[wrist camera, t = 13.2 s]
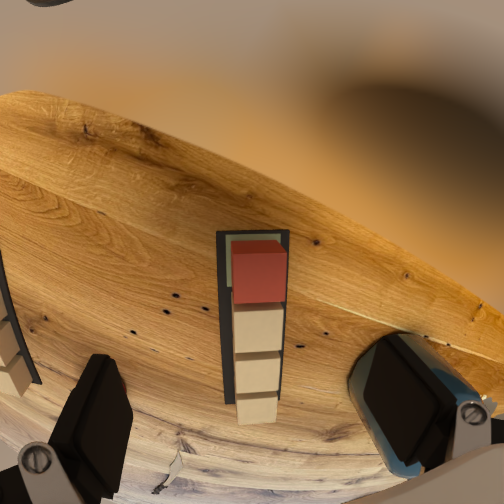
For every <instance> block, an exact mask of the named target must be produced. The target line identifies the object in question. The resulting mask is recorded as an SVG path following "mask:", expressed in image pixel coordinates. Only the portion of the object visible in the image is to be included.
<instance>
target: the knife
mask: <svg viewBox="0 0 504 504" xmlns="http://www.w3.org/2000/svg"><path fill="white" fill-rule="evenodd" d="M182 468H183V466H182V460H181V457H180V454H179V451H177V456H176V459H175V461H174V462H173V463H172V464H171V465H170V475H169V477H168V479H167V480H166V481H165V483H161V486H159V487H158V488H156V489H155V491H154V492H152V494H159V492H160V491H161V490H162V489H164V488H167V487H168V485H169V484H170V483H171V482H172V481H173V480H174V479H175V477H176V476H177V475H178V474H179V472H180V471H181V469H182Z"/></svg>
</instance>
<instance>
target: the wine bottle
mask: <svg viewBox="0 0 504 504" xmlns="http://www.w3.org/2000/svg"><path fill="white" fill-rule="evenodd" d="M397 335H399V336H400V337H401V338H402V339H403V341H404V342H405V343H406V344H407V345H408V346H409V347H410V348H411V349H412V350H413V351H414V352H415V353H416V354H417V355H418V356H419V357H420V359H421V360H422V361H423V362H424V363H425V364H426V365H427V366H428V367H429V368H430V369H431V370H432V372H433V373H434V374H435V375H436V376H437V377H438V378H439V379H440V380H441V381H442V383H443V384H444V385H445V386H446V387H447V388H448V389H449V390H450V391H451V393H452V394H453V395H454V396H455V397H456V398H457V399H458V400H457V402H456V404H457V405H458V406H459V405H460V403H462V402H463V401H466V400H476V401H479V402H481V403H483V400H482V399H481V397H480V395H479V393H478V392H477V391H476V390H475V389H474V388H473V387H472V386H471V385H470V384H469V383H468V382H467V381H466V380H465V379H464V378H463V377H462V376H461V375H460V374H459V373H458V372H457V371H456V370H455V369H454V368H453V367H452V366H451V365H450V364H449V363H448V362H447V361H446V360H445V359H444V358H443V357H442V356H441V355H440V354H439V353H438V352H437V351H436V350H435V349H434V348H432V347H431V346H430V345H429V344H428V343H427V342H426V341H425V340H424V339H423V338H422V337H421V336H420V335H415V334H397ZM376 345H377V343H376V344H375V345H374V346H373V347H372V348H371V349H370V350H369V351H368V352H367V353H366V354H365V355H364V356H363V357H362V358H361V359H359V360H358V362H357V364H356V366H355V368H354V370H353V372H352V374H351V376H350V378H349V384H348V385H349V392H350V399H351V402H352V404H353V406H354V408H355V409H356V411H357V413H358V415H359V417H360V419H361V420H362V422H363V424H364V426H365V428H366V430H367V432H368V433H369V435H370V437H371V439H372V441H373V443H374V445H375V446H376V448H377V450H378V452H379V454H380V456H381V458H382V460H383V462H384V463H385V465H386V467H387V469H388V470H389V472H391V473H392V474H394V475H396V476H398V477H401V478H406V479H407V480H410V479H412V478H415V477H417V476H419V474H420V470H421V466H422V465H421V464H420V462H418V463H415V464H413V465H411V466H408V467H406V466H405V464H404V462H400V461H399V460H398V458H397V456H396V455H395V453H394V451H393V449H392V448H391V446H390V444H389V442H388V441H387V439H386V437H385V435H384V434H383V432H382V430H381V429H380V427H379V425H378V423H377V422H376V420H375V418H374V417H373V415H372V413H371V411H370V410H369V408H368V406H367V405H366V403H365V401H364V399H363V391H364V388H365V385H366V382H367V378H368V375H369V371H370V368H371V364H372V361H373V357H374V353H375V349H376ZM483 404H484V403H483Z"/></svg>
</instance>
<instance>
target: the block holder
mask: <svg viewBox="0 0 504 504" xmlns="http://www.w3.org/2000/svg"><path fill="white" fill-rule="evenodd" d="M31 383H35V384H40V385H42V382H41V379H40V377H39V375H38V373H37V370H36V368H35V366H34V363H33V361H32V358H31V356H30V353H29V351H28V348H27V346H26V343H25V340H24V338H23V335H22V332H21V329H20V326H19V323H18V320H17V317H16V313H15V310H14V307H13V303H12V300H11V296H10V292H9V288H8V284H7V280H6V276H5V272H4V267H3V262H2V257H1V252H0V391H1V392H3V393H6V394H9V395H12V396H16V397H19V398H21V397H22V396H23V394H24V393H25V391H26V390H27V388H28V387H29V385H30V384H31Z"/></svg>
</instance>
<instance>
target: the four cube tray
mask: <svg viewBox="0 0 504 504" xmlns="http://www.w3.org/2000/svg"><path fill="white" fill-rule="evenodd" d="M289 233H290V231H289V230H241V231H216V249H217V277H218V300H219V320H220V338H221V354H222V369H223V383H224V396H225V404H236V412H237V422H238V425H249V424H261V423H271V422H276V414H277V402H278V400H280V391H281V379H282V366H283V352H284V337H285V321H286V303H287V284H288V261H289ZM248 240H277V241H278V242H279V243H280V244H281V246H282V247H283V248H284V249H285V251H286V252H287V268H286V291H285V301H282V302H264V303H243V304H234V300H233V292H232V280H231V241H248Z"/></svg>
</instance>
